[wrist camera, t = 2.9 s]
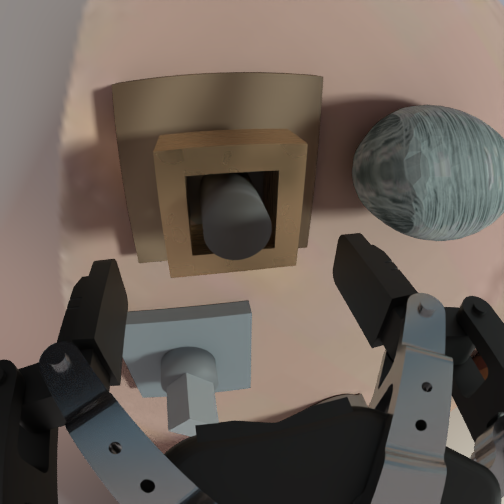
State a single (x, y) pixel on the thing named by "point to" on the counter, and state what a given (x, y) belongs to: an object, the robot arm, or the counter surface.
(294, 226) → the square wooden frame
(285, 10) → the counter surface
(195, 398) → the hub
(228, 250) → the stand
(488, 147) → the teal-grey streaked oval part
